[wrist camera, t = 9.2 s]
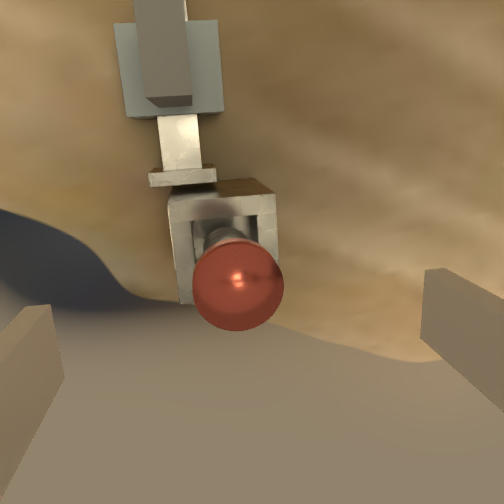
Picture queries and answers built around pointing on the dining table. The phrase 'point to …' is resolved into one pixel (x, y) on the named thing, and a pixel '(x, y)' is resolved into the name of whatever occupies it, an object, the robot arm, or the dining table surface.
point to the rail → (180, 151)
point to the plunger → (236, 281)
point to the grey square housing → (218, 221)
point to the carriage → (169, 62)
